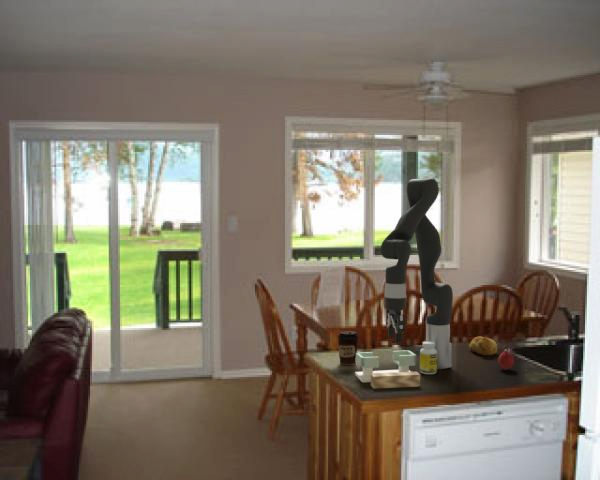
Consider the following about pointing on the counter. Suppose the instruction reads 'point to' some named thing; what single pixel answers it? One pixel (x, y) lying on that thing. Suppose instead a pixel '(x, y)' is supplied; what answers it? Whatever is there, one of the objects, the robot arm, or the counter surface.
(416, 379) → the tan rectangular bar
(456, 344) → the counter surface
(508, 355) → the onion
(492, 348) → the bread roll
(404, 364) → the bracket stand
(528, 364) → the counter surface
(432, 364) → the pill bottle
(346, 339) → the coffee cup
